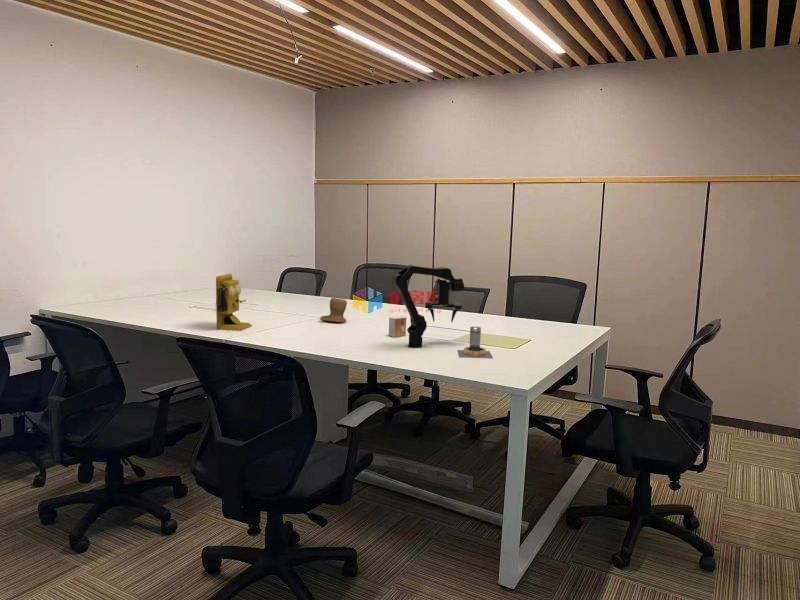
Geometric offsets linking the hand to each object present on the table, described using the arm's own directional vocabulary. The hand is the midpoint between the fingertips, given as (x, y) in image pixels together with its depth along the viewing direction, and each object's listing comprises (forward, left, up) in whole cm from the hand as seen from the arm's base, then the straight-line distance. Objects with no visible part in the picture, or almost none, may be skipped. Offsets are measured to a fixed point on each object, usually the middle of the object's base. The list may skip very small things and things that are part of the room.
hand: (442, 321), depth 308 cm
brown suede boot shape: (-64, +57, -12) cm, 87 cm away
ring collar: (+15, -22, -11) cm, 29 cm away
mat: (+15, -22, -12) cm, 29 cm away
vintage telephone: (-117, +26, -12) cm, 120 cm away
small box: (-24, +19, -12) cm, 33 cm away
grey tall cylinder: (+15, -22, -11) cm, 29 cm away
